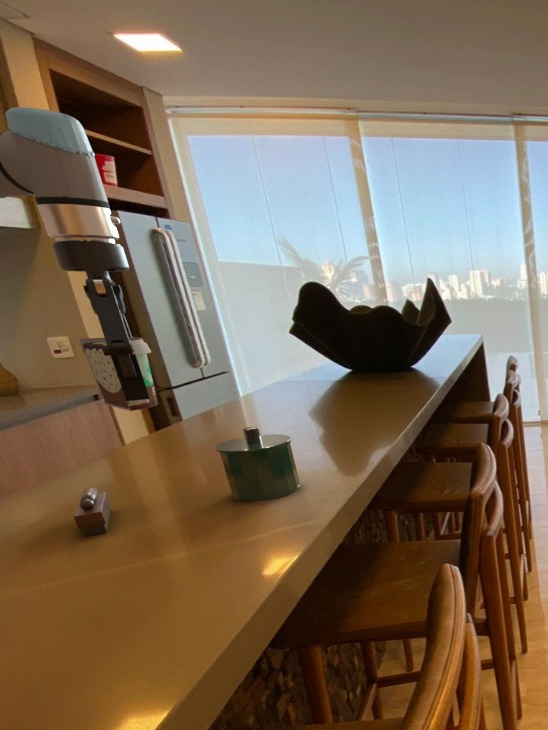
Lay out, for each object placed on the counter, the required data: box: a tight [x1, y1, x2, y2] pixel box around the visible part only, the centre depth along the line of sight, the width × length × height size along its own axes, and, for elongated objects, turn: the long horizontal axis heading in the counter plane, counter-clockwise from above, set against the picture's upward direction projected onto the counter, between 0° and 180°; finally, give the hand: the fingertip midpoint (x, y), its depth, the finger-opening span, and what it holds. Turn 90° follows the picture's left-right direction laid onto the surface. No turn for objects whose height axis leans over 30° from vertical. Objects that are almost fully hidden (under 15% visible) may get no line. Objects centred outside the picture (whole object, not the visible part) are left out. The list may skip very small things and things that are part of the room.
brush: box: [73, 486, 112, 537], centre depth 86 cm, size 12×3×5 cm, turn 39°
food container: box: [78, 336, 159, 412], centre depth 88 cm, size 12×6×10 cm, turn 59°
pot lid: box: [215, 426, 292, 454], centre depth 97 cm, size 11×11×4 cm
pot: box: [219, 442, 301, 502], centre depth 99 cm, size 10×10×8 cm
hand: (138, 394), depth 88 cm, fingers closed on food container, 12 cm apart
